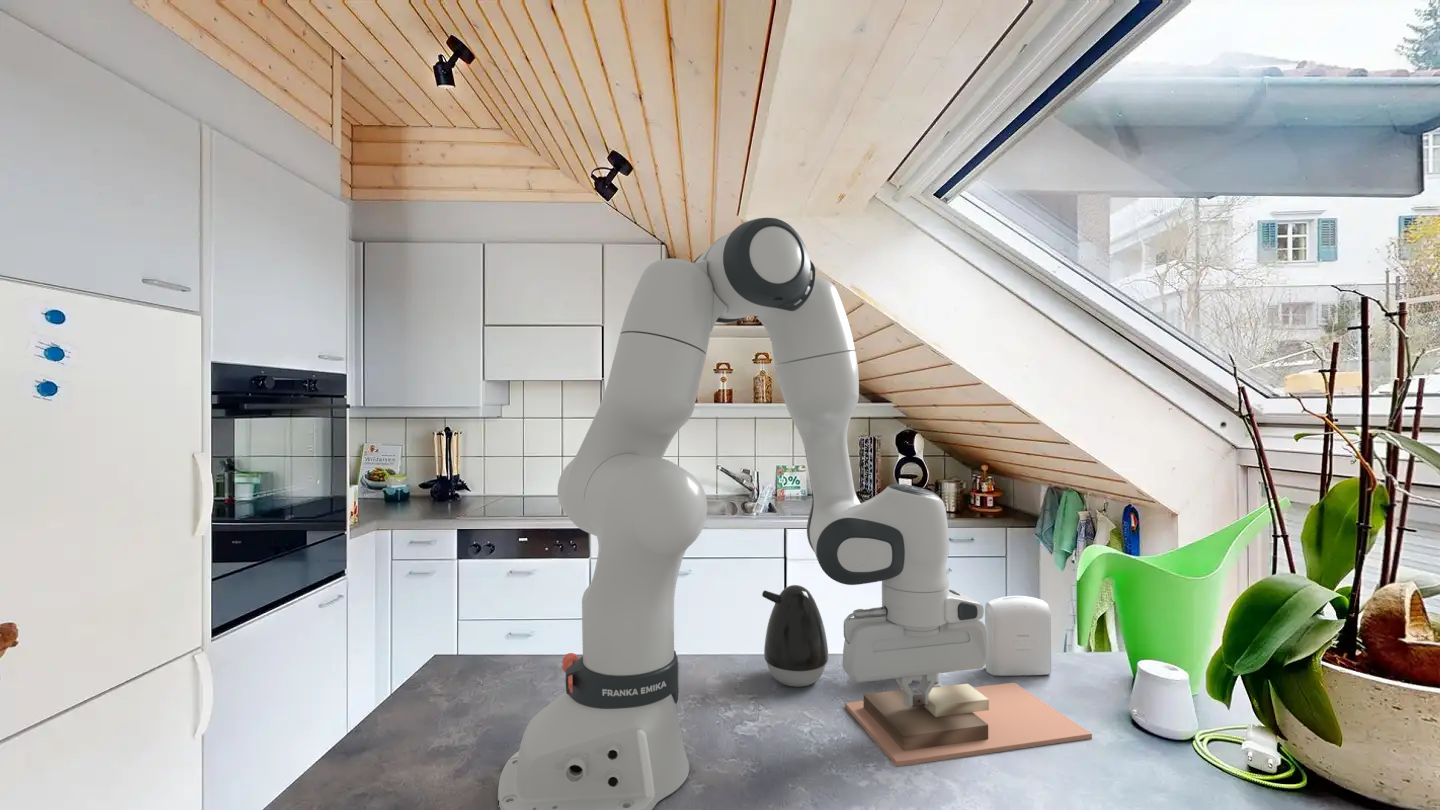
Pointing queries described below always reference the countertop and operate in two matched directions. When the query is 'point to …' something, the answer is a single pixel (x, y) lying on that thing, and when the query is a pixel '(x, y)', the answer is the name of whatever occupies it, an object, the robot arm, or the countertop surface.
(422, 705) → the countertop surface
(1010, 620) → the photo printer
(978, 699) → the birch tile
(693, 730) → the countertop surface
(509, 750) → the countertop surface
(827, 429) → the robot arm
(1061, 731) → the rubber mat
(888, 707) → the walnut block
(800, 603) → the pump dispenser
